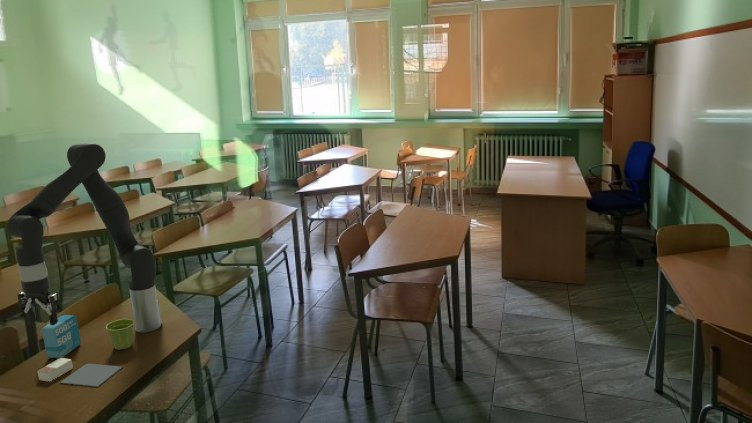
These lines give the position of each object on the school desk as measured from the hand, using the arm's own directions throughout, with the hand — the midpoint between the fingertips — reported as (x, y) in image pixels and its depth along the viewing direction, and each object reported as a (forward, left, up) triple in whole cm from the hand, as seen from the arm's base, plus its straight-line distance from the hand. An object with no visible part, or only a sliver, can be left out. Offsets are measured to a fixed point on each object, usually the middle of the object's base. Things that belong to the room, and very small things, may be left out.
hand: (43, 323), depth 180 cm
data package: (-14, -8, -19) cm, 25 cm away
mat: (-1, +14, -18) cm, 23 cm away
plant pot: (-21, +11, -19) cm, 30 cm away
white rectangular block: (0, +1, -19) cm, 19 cm away
